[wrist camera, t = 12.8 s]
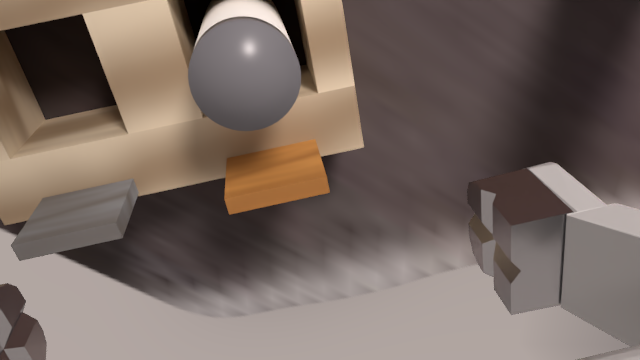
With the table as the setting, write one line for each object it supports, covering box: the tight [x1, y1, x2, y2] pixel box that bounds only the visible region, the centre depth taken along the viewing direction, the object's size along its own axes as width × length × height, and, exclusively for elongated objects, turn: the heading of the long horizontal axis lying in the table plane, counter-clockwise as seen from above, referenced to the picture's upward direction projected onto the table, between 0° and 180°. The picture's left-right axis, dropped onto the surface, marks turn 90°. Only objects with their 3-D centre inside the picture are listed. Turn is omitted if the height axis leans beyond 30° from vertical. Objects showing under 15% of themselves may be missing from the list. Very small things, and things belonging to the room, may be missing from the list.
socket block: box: [0, 0, 364, 261], centre depth 24 cm, size 12×18×9 cm, turn 100°
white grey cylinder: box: [188, 0, 301, 131], centre depth 23 cm, size 4×4×10 cm
